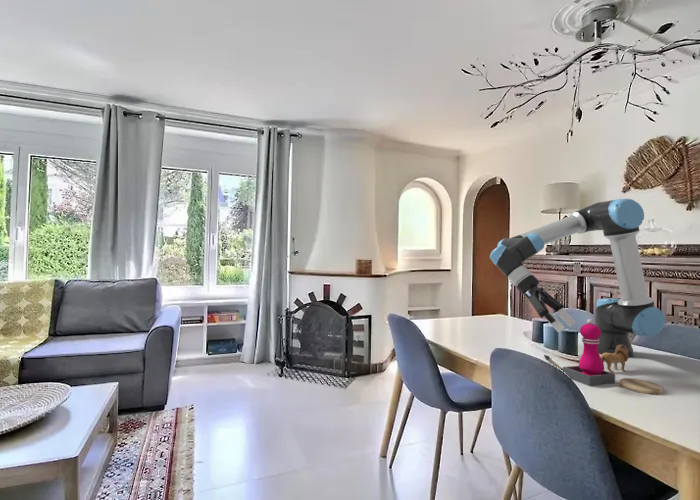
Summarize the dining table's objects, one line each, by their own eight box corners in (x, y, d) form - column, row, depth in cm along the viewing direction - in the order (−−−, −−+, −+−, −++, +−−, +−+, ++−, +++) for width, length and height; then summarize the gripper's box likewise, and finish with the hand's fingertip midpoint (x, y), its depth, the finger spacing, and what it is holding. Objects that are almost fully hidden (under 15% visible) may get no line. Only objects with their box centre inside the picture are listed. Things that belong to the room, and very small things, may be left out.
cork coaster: (636, 380, 131) (636, 377, 131) (671, 392, 120) (671, 388, 120) (611, 383, 127) (611, 379, 127) (645, 395, 117) (645, 391, 117)
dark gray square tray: (586, 373, 138) (586, 364, 138) (614, 383, 128) (615, 374, 128) (562, 375, 135) (562, 366, 135) (589, 386, 124) (589, 376, 124)
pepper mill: (574, 378, 132) (573, 318, 133) (585, 375, 136) (584, 317, 136) (598, 383, 126) (596, 321, 126) (608, 380, 130) (606, 319, 130)
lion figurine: (617, 366, 147) (617, 342, 147) (632, 370, 142) (633, 345, 142) (592, 371, 140) (593, 346, 140) (607, 375, 136) (608, 349, 136)
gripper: (528, 285, 156) (569, 328, 146) (502, 289, 138) (547, 339, 128) (542, 272, 152) (585, 316, 142) (518, 274, 134) (565, 325, 124)
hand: (567, 327), depth 135 cm, fingers open, 13 cm apart
